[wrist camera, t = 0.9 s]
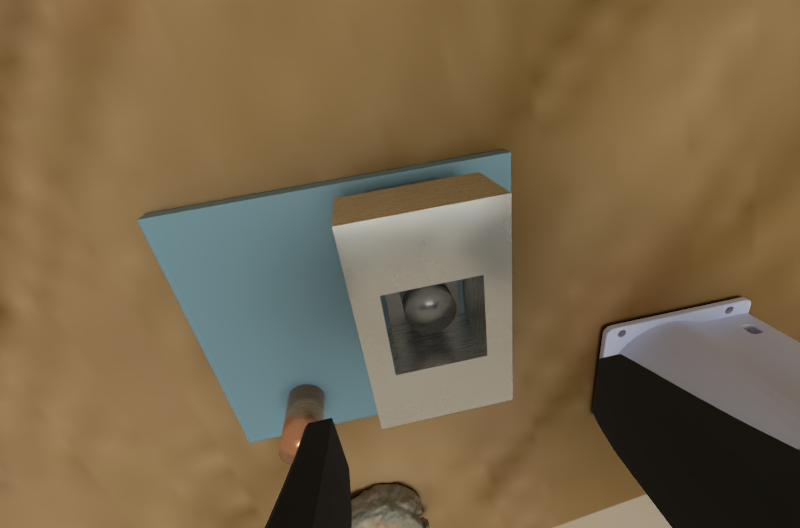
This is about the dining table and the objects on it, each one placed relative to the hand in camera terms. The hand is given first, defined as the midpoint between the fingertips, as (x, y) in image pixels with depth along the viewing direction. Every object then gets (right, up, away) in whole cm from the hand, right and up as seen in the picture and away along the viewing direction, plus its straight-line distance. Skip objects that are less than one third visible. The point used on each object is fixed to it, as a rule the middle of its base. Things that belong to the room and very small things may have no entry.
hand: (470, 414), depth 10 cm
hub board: (-4, +2, +10) cm, 11 cm away
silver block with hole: (-1, +3, +6) cm, 7 cm away
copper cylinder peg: (-7, -3, +11) cm, 14 cm away
